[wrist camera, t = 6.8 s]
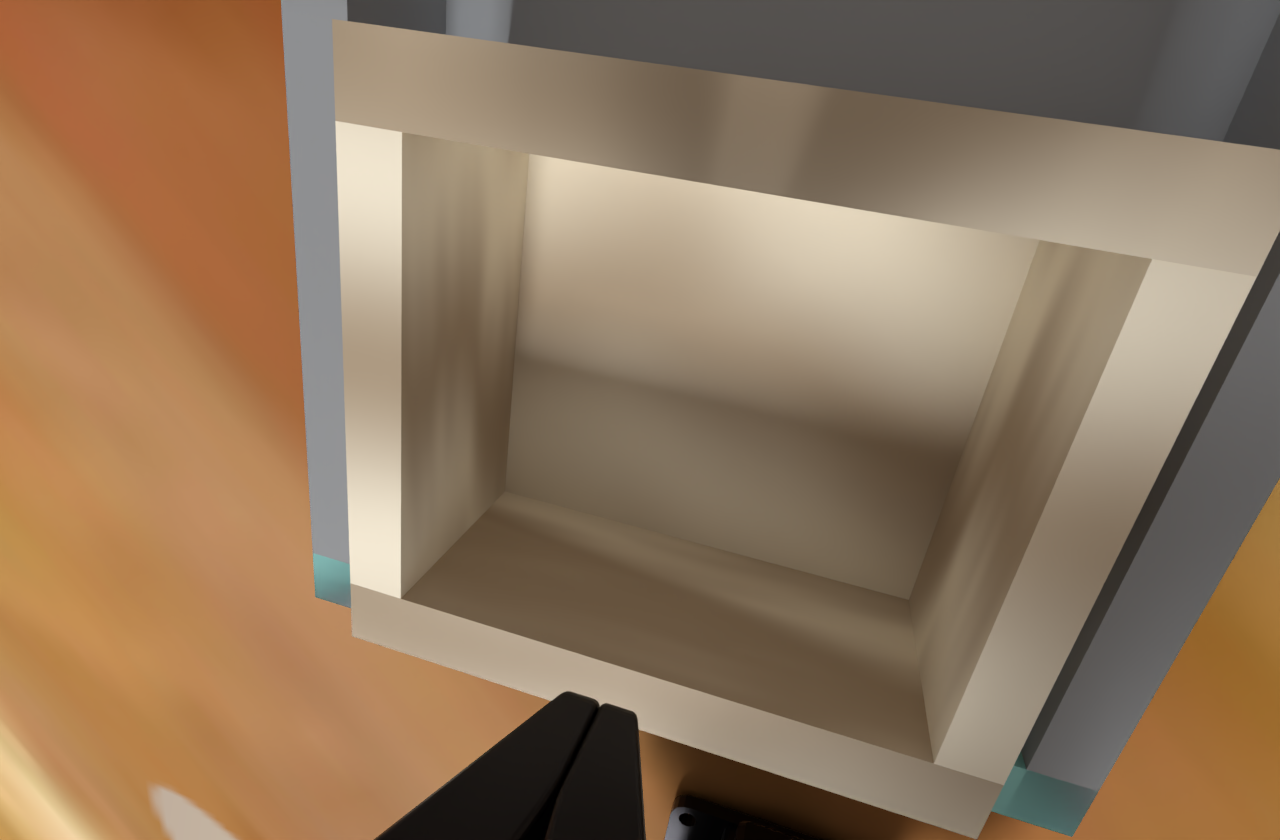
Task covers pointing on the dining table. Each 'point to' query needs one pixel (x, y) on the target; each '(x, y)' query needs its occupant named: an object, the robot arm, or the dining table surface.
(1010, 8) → the bay
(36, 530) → the dining table surface
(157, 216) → the dining table surface
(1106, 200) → the crate
